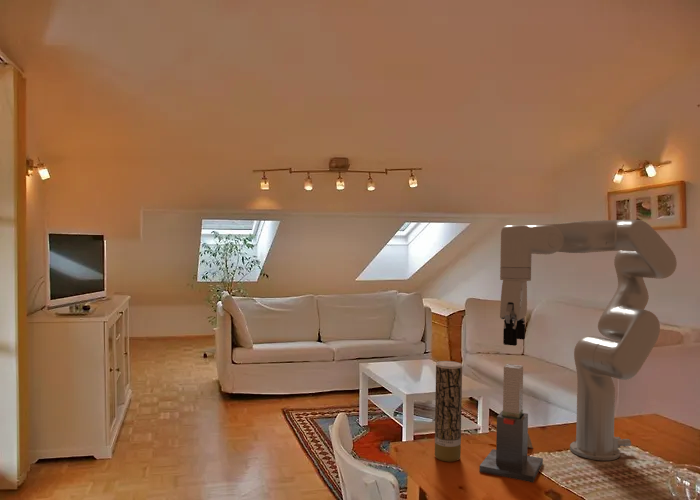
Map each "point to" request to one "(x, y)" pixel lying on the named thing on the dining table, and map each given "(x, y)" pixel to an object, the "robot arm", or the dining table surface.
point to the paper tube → (448, 411)
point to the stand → (512, 451)
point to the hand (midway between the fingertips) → (514, 341)
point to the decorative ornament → (529, 442)
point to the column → (513, 391)
